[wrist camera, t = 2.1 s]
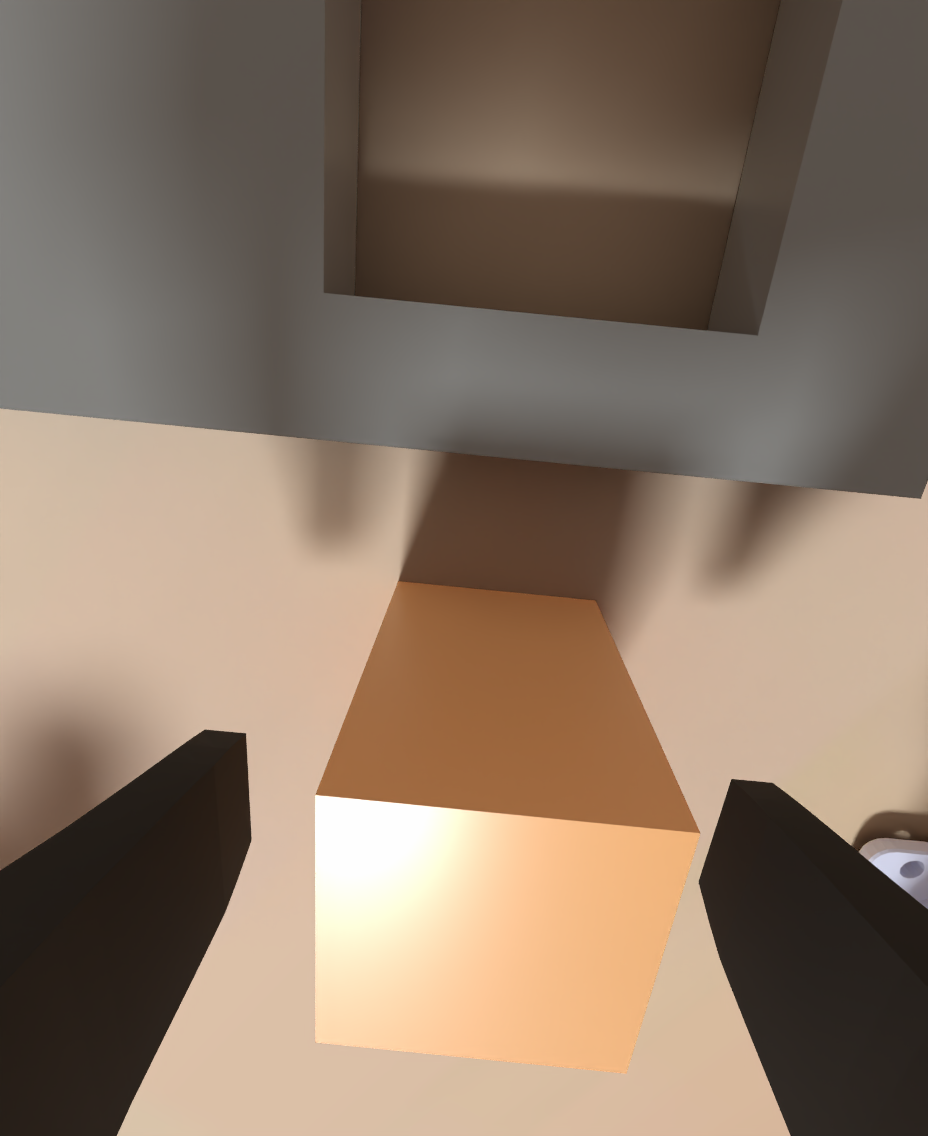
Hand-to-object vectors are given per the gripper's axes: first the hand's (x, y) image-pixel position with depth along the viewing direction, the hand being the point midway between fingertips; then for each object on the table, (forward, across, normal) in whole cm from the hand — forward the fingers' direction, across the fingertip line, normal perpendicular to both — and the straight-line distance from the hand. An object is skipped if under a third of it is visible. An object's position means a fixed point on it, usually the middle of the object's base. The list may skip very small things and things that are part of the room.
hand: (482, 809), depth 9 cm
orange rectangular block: (+4, 0, 0) cm, 4 cm away
